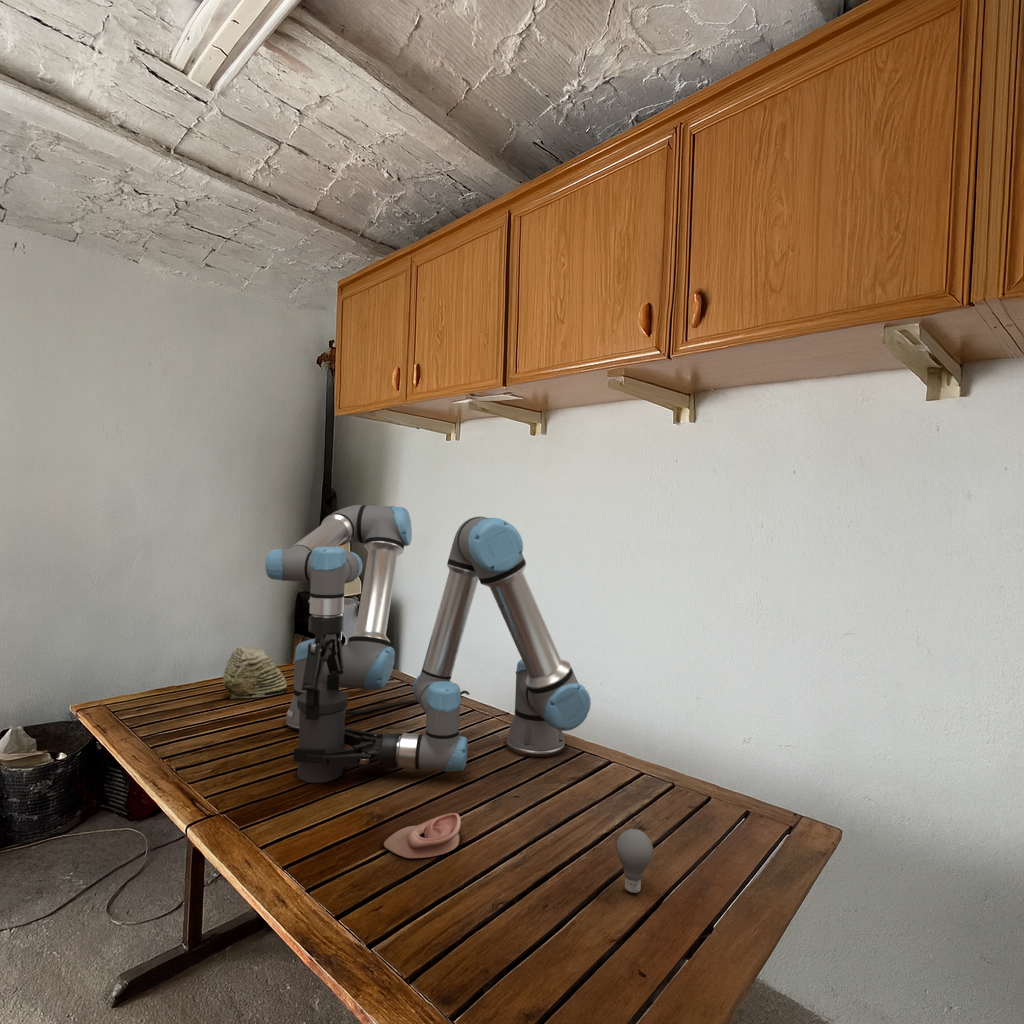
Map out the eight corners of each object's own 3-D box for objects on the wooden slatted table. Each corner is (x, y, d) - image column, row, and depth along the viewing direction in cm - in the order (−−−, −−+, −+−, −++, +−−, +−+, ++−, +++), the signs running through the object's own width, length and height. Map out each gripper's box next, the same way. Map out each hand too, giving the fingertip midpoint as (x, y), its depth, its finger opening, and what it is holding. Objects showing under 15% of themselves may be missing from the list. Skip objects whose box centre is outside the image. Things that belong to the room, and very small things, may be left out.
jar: (351, 773, 146) (354, 700, 145) (312, 787, 138) (315, 710, 138) (327, 760, 152) (329, 690, 152) (288, 772, 145) (291, 699, 144)
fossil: (218, 695, 195) (220, 647, 195) (278, 685, 208) (279, 640, 207) (228, 703, 189) (230, 653, 188) (289, 692, 201) (290, 645, 201)
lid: (296, 715, 138) (296, 705, 138) (297, 699, 148) (297, 690, 148) (349, 712, 141) (349, 703, 141) (346, 696, 152) (347, 688, 152)
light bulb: (610, 879, 108) (613, 822, 108) (644, 879, 109) (647, 822, 109) (619, 902, 102) (622, 840, 102) (655, 901, 103) (658, 840, 103)
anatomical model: (377, 831, 113) (401, 802, 124) (376, 853, 113) (400, 822, 124) (448, 842, 110) (466, 811, 122) (447, 865, 111) (465, 832, 122)
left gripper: (330, 605, 156) (326, 693, 157) (287, 623, 133) (283, 727, 133) (359, 607, 156) (356, 695, 156) (321, 625, 132) (317, 729, 133)
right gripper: (387, 789, 133) (282, 783, 134) (408, 747, 156) (318, 742, 156) (388, 754, 133) (284, 748, 134) (409, 717, 156) (320, 712, 156)
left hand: (322, 710), depth 145 cm, fingers closed on lid, 11 cm apart
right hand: (302, 745), depth 145 cm, fingers closed on jar, 10 cm apart
